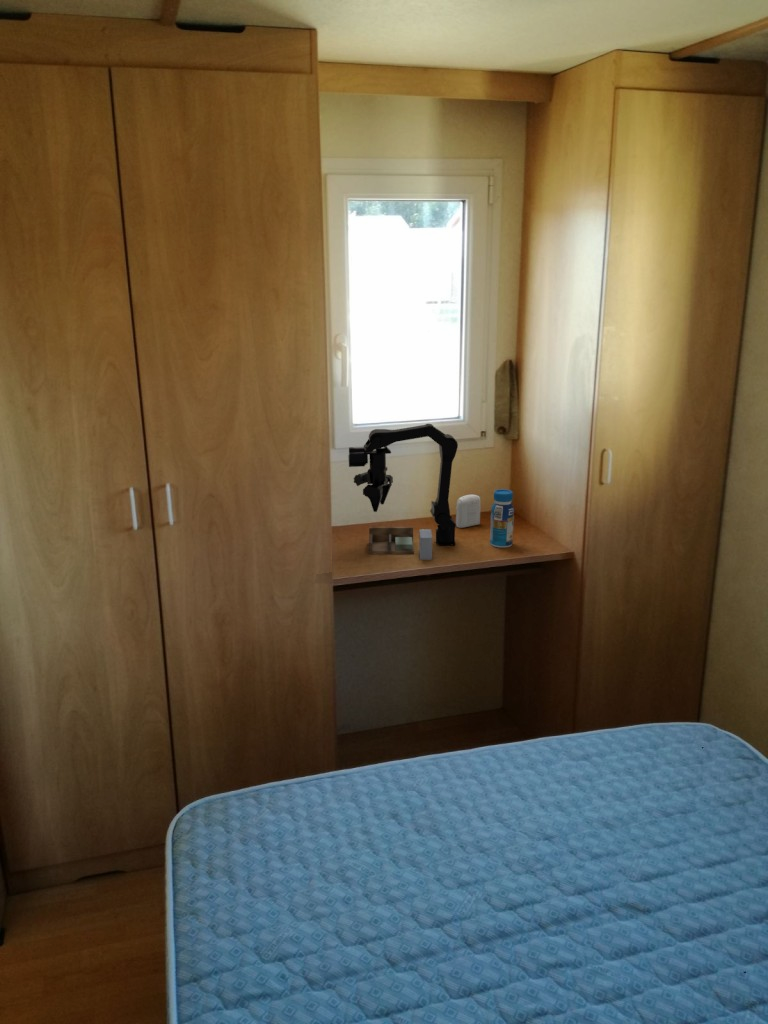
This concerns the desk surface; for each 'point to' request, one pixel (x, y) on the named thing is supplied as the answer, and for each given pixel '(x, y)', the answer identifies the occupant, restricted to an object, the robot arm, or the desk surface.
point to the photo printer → (468, 511)
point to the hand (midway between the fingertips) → (378, 507)
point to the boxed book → (425, 544)
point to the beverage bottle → (502, 519)
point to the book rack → (391, 540)
